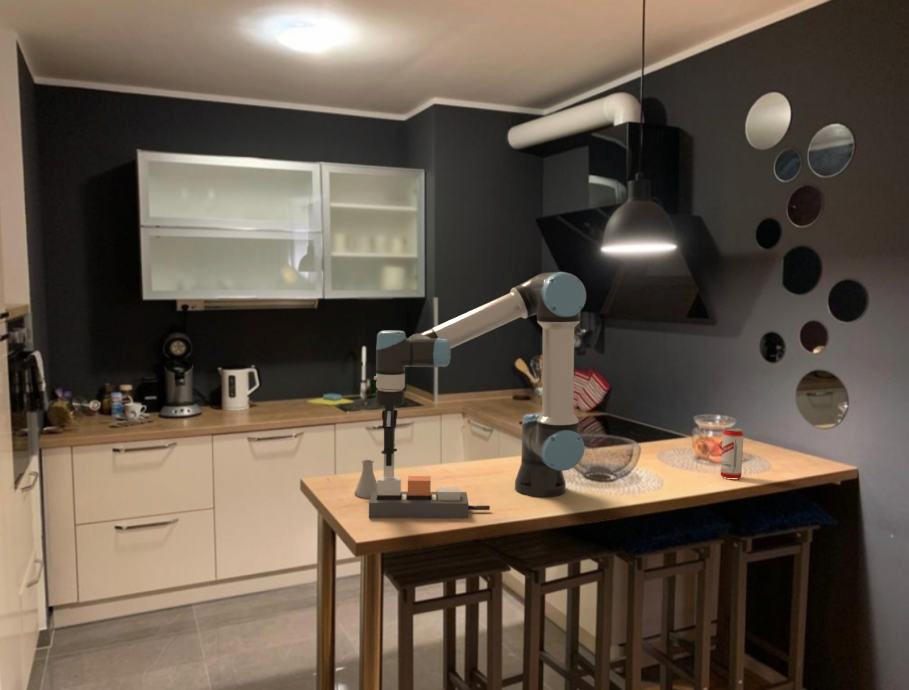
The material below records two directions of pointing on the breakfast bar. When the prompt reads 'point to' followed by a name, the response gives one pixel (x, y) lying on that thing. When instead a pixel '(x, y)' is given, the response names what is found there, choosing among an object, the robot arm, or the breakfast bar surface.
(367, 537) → the breakfast bar surface
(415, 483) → the switch
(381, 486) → the switch
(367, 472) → the flask
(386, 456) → the robot arm
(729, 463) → the beer can
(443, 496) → the switch
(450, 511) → the power strip
